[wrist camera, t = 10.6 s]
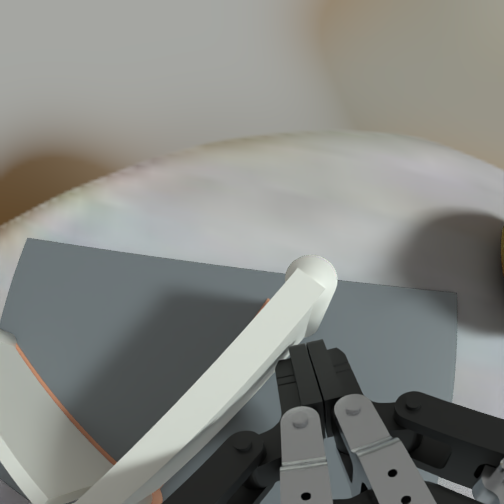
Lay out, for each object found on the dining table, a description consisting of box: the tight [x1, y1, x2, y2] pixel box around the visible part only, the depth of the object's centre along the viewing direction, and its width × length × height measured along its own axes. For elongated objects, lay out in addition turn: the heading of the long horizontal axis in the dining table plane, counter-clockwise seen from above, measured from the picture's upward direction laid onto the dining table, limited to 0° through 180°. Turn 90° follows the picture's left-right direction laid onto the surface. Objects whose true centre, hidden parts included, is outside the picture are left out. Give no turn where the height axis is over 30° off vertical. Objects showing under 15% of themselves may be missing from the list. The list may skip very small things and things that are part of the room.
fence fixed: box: [0, 330, 153, 504], centre depth 13 cm, size 16×2×8 cm, turn 55°
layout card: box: [0, 238, 457, 504], centre depth 16 cm, size 32×20×1 cm, turn 80°
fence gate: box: [74, 255, 337, 504], centre depth 13 cm, size 14×2×7 cm, turn 139°
